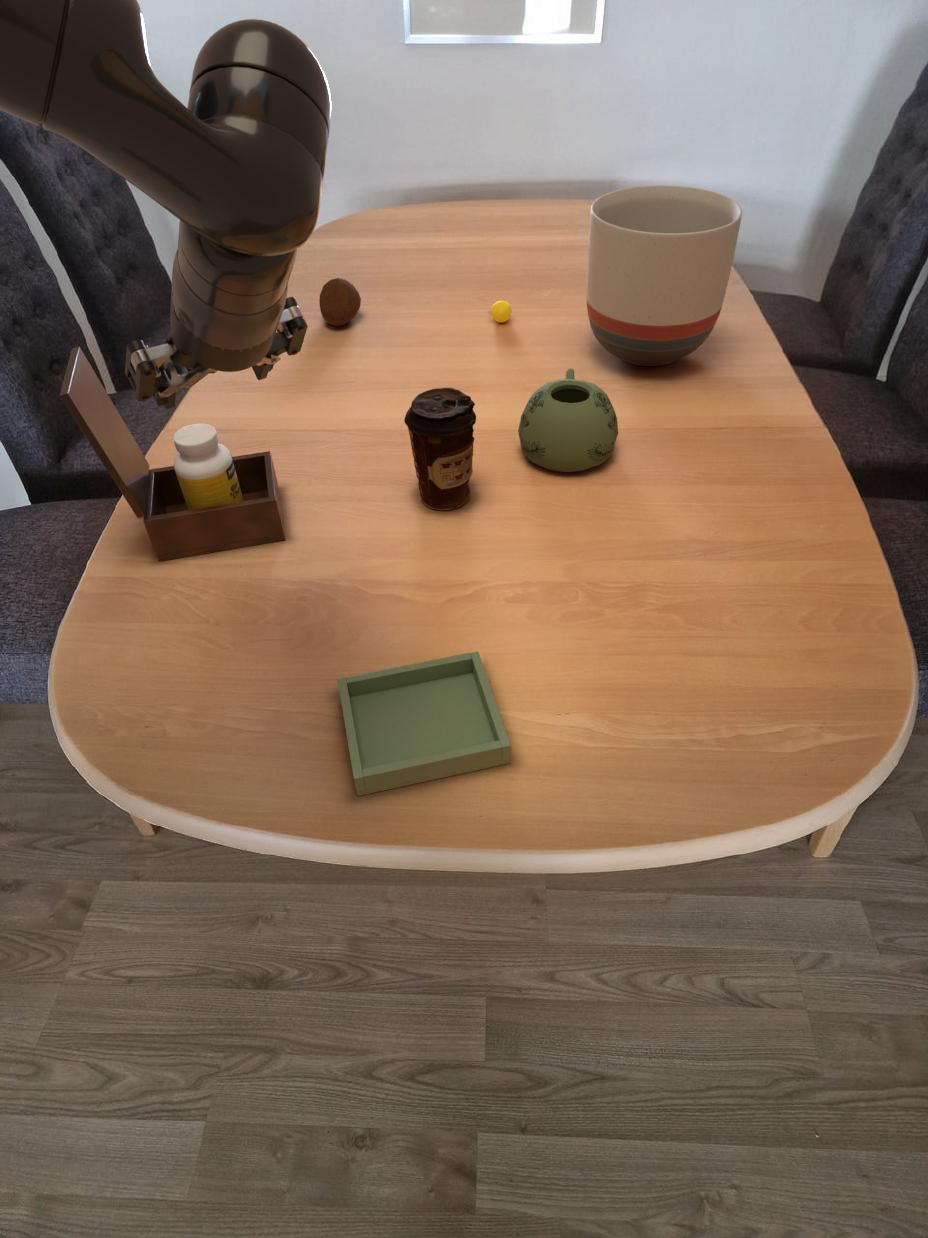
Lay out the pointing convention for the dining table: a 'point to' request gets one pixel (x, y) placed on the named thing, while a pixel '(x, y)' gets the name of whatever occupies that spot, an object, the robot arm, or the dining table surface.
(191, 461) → the pill bottle
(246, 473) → the brown wooden box
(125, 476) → the lid
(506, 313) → the yellow rounded lump
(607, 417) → the green ceramic domed vessel
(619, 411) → the dining table surface
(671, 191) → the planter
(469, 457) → the coffee cup
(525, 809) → the dining table surface
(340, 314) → the potato
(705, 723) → the dining table surface
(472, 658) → the tray
